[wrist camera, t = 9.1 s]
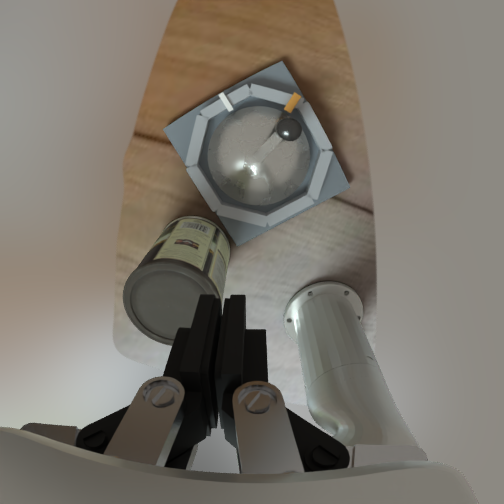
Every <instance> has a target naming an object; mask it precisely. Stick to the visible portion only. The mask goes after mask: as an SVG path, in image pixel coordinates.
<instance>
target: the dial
mask: <svg viewBox="0 0 504 504" xmlns="http://www.w3.org/2000/svg"><path fill="white" fill-rule="evenodd" d="M309 163H310V149H309V144H308V141H307V138H306V135H305V134H304V132H303V130H302V127H301V125H300V123H299V122H298V121H297V120H295V119H293V118H291V117H290V116H289V115H287V114H285V113H284V112H282V111H279V110H277V109H274V108H270V107H264V106H253V107H247V108H243V109H240V110H238V111H236V112H234V113H232V114H230V115H229V116H228V117H226V118H225V119H224V120H223V121H222V122H221V123H220V124H219V125H218V127H217V128H216V129H215V131H214V133H213V135H212V137H211V139H210V143H209V147H208V165H209V169H210V172H211V175H212V177H213V179H214V180H215V182H216V184H217V185H218V186H219V187H220V189H221V190H222V191H223V192H224V193H226V194H227V195H228V196H230V197H231V198H233V199H235V200H237V201H239V202H242V203H245V204H249V205H269V204H273V203H276V202H279V201H281V200H283V199H285V198H287V197H288V196H290V195H291V194H292V193H293V192H294V191H295V190H297V188H298V187H299V186H300V185H301V183H302V182H303V180H304V178H305V176H306V174H307V171H308V168H309Z"/></svg>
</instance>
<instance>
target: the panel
mask: <svg viewBox="0 0 504 504" xmlns="http://www.w3.org/2000/svg"><path fill="white" fill-rule="evenodd" d="M253 106H264V107H270V108H274V109H277V110H279V111H282V112H284V113H285V114H287V115H289V116H290V117H291V118H293V119H295V120H297V121H298V122H299V123H300V125H301V127H302V130H303V132H304V134H305V135H306V138H307V141H308V144H309V149H310V163H309V168H308V171H307V174H306V176H305V178H304V180H303V182H302V183H301V185H300V186H299V187H298V188H297V190H295V191H294V192H293V193H292V194H291V195H290V196H288V197H287V198H285V199H283V200H281V201H279V202H276V203H273V204H269V205H249V204H245V203H242V202H239V201H237V200H235V199H233V198H231V197H230V196H228V195H227V194H226V193H224V192H223V191H222V190H221V189H220V187H219V186H218V185H217V184H216V182H215V180H214V179H213V177H212V175H211V172H210V169H209V165H208V147H209V143H210V139H211V137H212V135H213V133H214V131H215V129H216V128H217V127H218V125H219V124H220V123H221V122H222V121H223V120H224V119H225V118H226V117H228V116H229V115H230V114H232V113H234V112H236V111H238V110H240V109H243V108H247V107H253ZM163 130H164V132H165V133H166V135H167V136H168V138H169V140H170V141H171V143H172V144H173V146H174V148H175V149H176V151H177V152H178V154H179V156H180V157H181V159H182V160H183V162H184V163H185V165H186V167H187V169H186V171H187V172H188V174H189V175H190V177H191V179H192V180H193V182H194V183H195V185H196V187H197V188H198V190H199V191H200V193H201V194H202V196H203V197H204V199H205V201H206V202H207V204H208V205H209V207H210V208H211V210H212V212H214V211H215V212H216V214H217V215H218V217H219V219H220V220H221V222H222V223H223V225H224V226H225V228H226V229H227V231H228V233H229V234H230V236H231V237H232V239H233V240H234V242H235V243H236V245H237V247H238V246H240V245H241V244H243V243H245V242H247V241H249V240H251V239H253V238H255V237H257V236H258V235H260V234H262V233H264V232H266V231H268V230H270V229H272V228H274V227H276V226H277V225H279V224H281V223H283V222H285V221H287V220H289V219H291V218H293V217H295V216H297V215H298V214H300V213H302V212H304V211H306V210H308V209H310V208H312V207H314V206H316V205H318V204H320V203H321V202H323V201H325V200H327V199H329V198H331V197H333V196H335V195H337V194H339V193H341V192H343V191H345V190H347V189H348V188H350V185H349V183H348V181H347V179H346V177H345V175H344V173H343V171H342V168H341V166H340V164H339V162H338V160H337V158H336V156H335V154H334V152H333V150H332V148H333V147H332V145H331V143H330V141H329V139H328V137H327V136H326V134H325V132H324V130H323V128H322V126H321V124H320V122H319V120H318V119H317V117H316V115H315V113H314V111H313V109H312V108H311V106H310V104H309V102H307V101H306V100H305V98H304V96H303V94H302V93H301V91H300V89H299V88H298V86H297V84H296V83H295V81H294V79H293V78H292V76H291V74H290V73H289V71H288V69H287V68H286V66H285V65H284V63H283V61H281V62H279V63H276V64H274V65H272V66H270V67H268V68H266V69H264V70H262V71H260V72H258V73H256V74H254V75H252V76H251V77H249V78H247V79H245V80H243V81H241V82H239V83H237V84H236V85H234V86H232V87H230V88H228V89H227V90H225V91H223V92H221V93H220V94H218V95H216V96H215V97H213V98H211V99H209V100H208V101H206V102H204V103H203V104H201V105H200V106H198V107H196V108H195V109H193V110H192V111H190V112H188V113H187V114H185V115H184V116H182V117H181V118H179V119H178V120H176V121H175V122H173V123H172V124H170V125H169V126H167V127H166V128H164V129H163Z"/></svg>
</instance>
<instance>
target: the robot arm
mask: <svg viewBox="0 0 504 504" xmlns="http://www.w3.org/2000/svg"><path fill="white" fill-rule="evenodd" d="M309 291H310V292H309ZM362 317H363V305H362V302H361V300H360V298H359V296H358V294H357V293H356V292H355V291H354V290H353V289H352V288H351V287H349V286H347V285H345V284H343V283H339V282H331V281H327V282H319V283H316V284H312V285H310V286H308V287H305V288H304V289H302V290H301V291H299V292H298V293H297V294H296V295H295V296H294V297H293V298H292V299H291V300H290V302H289V303H288V305H287V307H286V309H285V313H284V326H285V330H286V333H287V335H288V336H289V337H290V339H291V340H292V341H293V342H295V343H296V344H298V348H299V354H300V361H301V367H302V373H303V379H304V386H305V392H306V398H307V405H308V409H309V412H310V414H311V416H312V418H313V419H314V421H315V422H316V423H317V424H318V425H319V426H321V427H322V428H323V429H325V430H326V431H327V432H329V433H331V434H333V435H334V436H332V437H331V436H329V435H328V434H326V433H324V432H323V431H321V430H320V429H318V428H317V427H315V426H313V425H312V424H310V423H309V422H307V421H306V420H304V419H303V418H301V417H300V416H298V415H297V414H295V413H294V412H292V411H291V410H289V409H287V408H286V407H285V403H284V400H283V396H282V394H281V392H280V390H279V389H278V388H277V387H276V386H274V385H272V384H270V383H268V368H267V345H266V329H246V297H245V295H231V296H230V299H228V298H225V302H224V308H223V315H222V306H221V298H216V296H215V294H200V297H199V300H198V304H197V307H196V311H195V314H194V318H193V322H192V325H191V328H184V327H179V328H178V330H177V333H176V336H175V339H174V342H173V345H172V348H171V352H170V355H169V358H168V361H167V364H166V367H165V371H164V374H163V376H161V377H155V378H152V379H150V380H148V381H146V382H145V383H143V385H142V386H141V387H140V388H139V390H138V392H137V394H136V396H135V397H134V399H133V401H132V403H131V404H130V405H129V406H127V407H125V408H123V409H121V410H119V411H117V412H114V413H112V414H110V415H108V416H106V417H104V418H102V419H100V420H98V421H96V422H94V423H91V424H89V425H88V426H86V427H84V428H83V429H78V428H77V427H76V426H62V425H50V424H41V423H28V424H26V425H24V426H23V427H22V428H21V429H16V428H10V427H0V504H479V503H478V500H477V498H476V496H475V494H474V491H473V490H472V488H471V486H470V484H469V483H468V481H467V479H466V478H465V476H464V475H463V474H462V473H461V472H460V471H459V470H457V469H456V468H454V467H452V466H449V465H447V464H443V463H438V462H430V461H428V459H427V456H426V453H425V452H424V451H423V450H422V449H421V448H420V446H419V444H418V442H417V441H416V439H415V437H414V435H413V434H412V432H411V431H410V429H409V427H408V426H407V424H406V422H405V421H404V419H403V417H402V416H401V414H400V412H399V410H398V408H397V407H396V404H395V402H394V400H393V398H392V395H391V393H390V391H389V389H388V386H387V384H386V382H385V379H384V377H383V374H382V372H381V370H380V367H379V365H378V362H377V360H376V358H375V355H374V353H373V351H372V348H371V346H370V344H369V342H368V339H367V337H366V335H365V332H364V330H363V328H362V326H361V324H360V323H361V321H362ZM218 413H219V416H220V424H221V428H222V429H224V433H225V439H226V440H227V441H228V442H229V443H230V444H231V445H233V446H234V447H235V448H236V453H237V459H238V466H239V473H240V474H233V473H232V474H231V473H214V472H202V471H191V467H192V464H193V461H194V458H195V455H196V452H197V449H198V443H199V442H201V441H202V440H204V439H205V438H206V436H210V434H211V428H217V422H218Z"/></svg>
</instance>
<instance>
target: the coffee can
mask: <svg viewBox="0 0 504 504" xmlns="http://www.w3.org/2000/svg"><path fill="white" fill-rule="evenodd" d="M229 258H230V246H229V241H228V239H227V237H226V235H225V234H224V232H223V231H222V229H221V228H220V227H219V226H217V225H216V224H215V223H213V222H212V221H210V220H208V219H206V218H203V217H198V216H185V217H181V218H178V219H176V220H174V221H172V222H171V223H170V224H168V225H167V226H166V228H165V229H164V230H163V232H162V234H161V235H160V237H159V238H158V239H157V241H156V242H155V243H154V245H153V246H152V248H151V249H150V251H149V252H148V253H147V255H146V256H145V257H144V259H143V260H142V262H141V263H140V264H139V266H138V267H137V268H136V269H135V270H134V271H133V272H132V274H131V275H130V276H129V278H128V279H127V281H126V283H125V286H124V290H123V303H124V307H125V310H126V313H127V315H128V317H129V318H130V320H131V321H132V323H133V324H134V325H135V326H136V327H137V328H138V330H140V331H141V332H142V333H143V334H145V335H146V336H148V337H149V338H151V339H153V340H155V341H157V342H160V343H162V344H166V345H170V346H172V345H173V342H174V339H175V336H176V333H177V330H178V328H179V327H184V328H191V325H192V322H193V318H194V314H195V311H196V307H197V304H198V300H199V297H200V294H215V296H216V298H221V306H222V299H223V293H224V286H225V280H226V273H227V267H228V262H229Z"/></svg>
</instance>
